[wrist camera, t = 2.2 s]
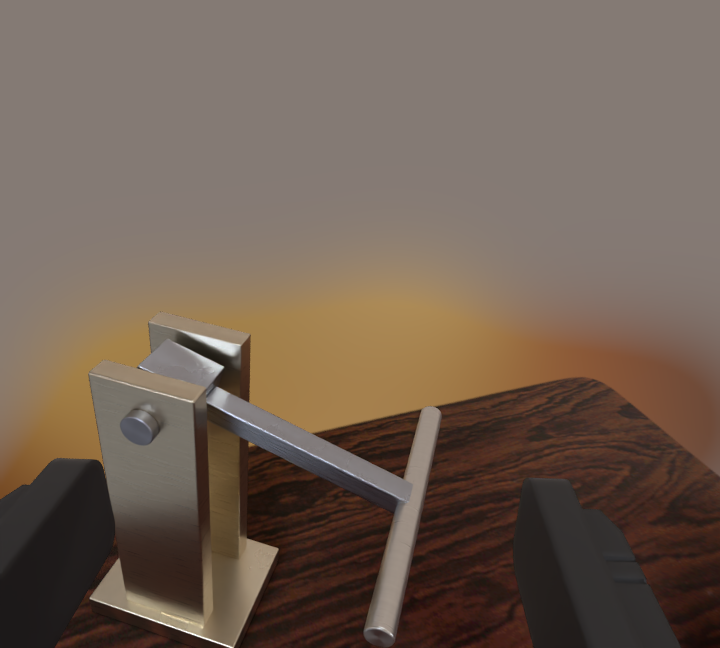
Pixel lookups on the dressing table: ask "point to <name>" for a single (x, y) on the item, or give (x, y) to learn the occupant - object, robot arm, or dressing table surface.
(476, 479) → the dressing table surface
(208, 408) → the tap lever
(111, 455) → the bracket
